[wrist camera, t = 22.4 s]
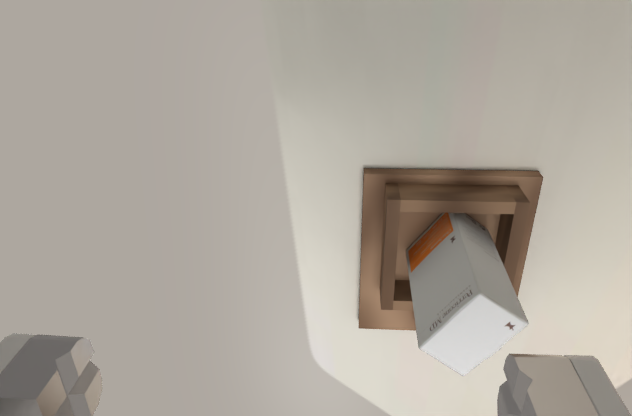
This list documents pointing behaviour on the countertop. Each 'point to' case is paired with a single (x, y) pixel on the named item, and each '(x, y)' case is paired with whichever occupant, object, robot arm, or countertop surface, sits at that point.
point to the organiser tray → (420, 213)
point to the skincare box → (461, 293)
